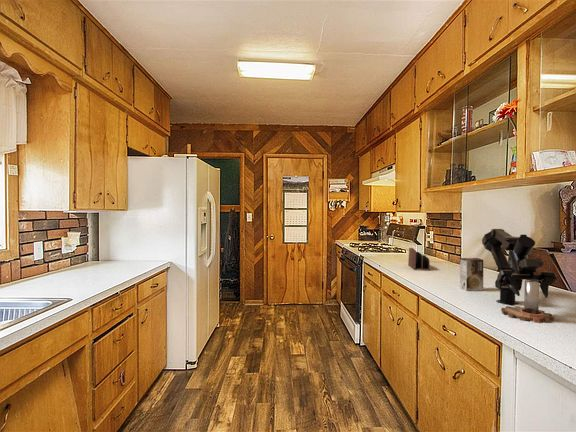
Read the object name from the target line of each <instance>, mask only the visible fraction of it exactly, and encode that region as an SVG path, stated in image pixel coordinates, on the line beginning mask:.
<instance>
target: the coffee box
mask: <svg viewBox="0 0 576 432" xmlns="http://www.w3.org/2000/svg"><path fill="white" fill-rule="evenodd" d="M459 289H461V290H463V291H465V292H477V291H478V292H480V291H481V292H482V291H483V292H484V259H483V258H479V257H460V258H459Z"/></svg>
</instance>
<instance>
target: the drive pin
mask: <svg viewBox="0 0 576 432" xmlns="http://www.w3.org/2000/svg"><path fill="white" fill-rule="evenodd" d="M539 285H540V283H539V282H538V280H524V295H523V296H524V298H523V299H524V301H523V302H524V304H523V306H524V307H523V308H524V312H526V313H530V314H539V310H540V309H539V305H540V304H539V303H540V302H539V301H540V286H539Z"/></svg>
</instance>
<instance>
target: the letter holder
mask: <svg viewBox="0 0 576 432" xmlns="http://www.w3.org/2000/svg"><path fill="white" fill-rule="evenodd" d="M430 261H431V260H430V258H429V257H428V256H426V255H424V254H423V255H422V253H421V252H419V251H417V250H415V249H414V248H413V247H409V248H408V263H407V265H408V266H409V268H411V269H412V270H414V271H423V272H425V271H428V272H430V270H431V269H430V268H431V265H430Z"/></svg>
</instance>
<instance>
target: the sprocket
mask: <svg viewBox="0 0 576 432" xmlns="http://www.w3.org/2000/svg"><path fill="white" fill-rule="evenodd" d="M500 311H501V314H502V315H506V316H508V318H511V319H518V320H519V321H521V322H522V321H523V322H526V321H530V322H533V323H541V322H543V323H550V322H551V321H552V322H553V321H554V320H555V318H554V315H553V314H552V313H549V312H546V311H545V310H541V309H539V314H530V313H526V312H524V307H521V306H520V305H518V306H517V305H516V306H511V305H510V306H509V305H508V306H507V305H506V306H505V307H501V309H500Z"/></svg>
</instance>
